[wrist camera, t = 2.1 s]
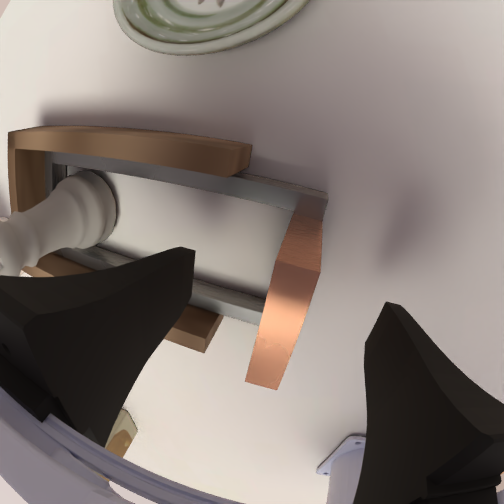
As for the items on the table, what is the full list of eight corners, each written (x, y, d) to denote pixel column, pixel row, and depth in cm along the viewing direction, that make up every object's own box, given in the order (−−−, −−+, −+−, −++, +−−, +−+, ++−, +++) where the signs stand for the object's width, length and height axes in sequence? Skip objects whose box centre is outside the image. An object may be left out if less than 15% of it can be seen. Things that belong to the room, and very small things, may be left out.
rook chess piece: (62, 210, 16) (-33, 261, 9) (82, 154, 14) (-35, 190, 7) (105, 254, 17) (11, 325, 9) (132, 199, 15) (11, 262, 7)
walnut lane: (252, 144, 12) (231, 149, 9) (223, 318, 16) (204, 353, 13) (42, 125, 14) (8, 132, 11) (48, 252, 18) (21, 269, 15)
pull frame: (327, 193, 12) (330, 240, 7) (290, 319, 15) (271, 403, 10) (58, 146, 14) (-14, 165, 9) (62, 244, 17) (4, 281, 12)
